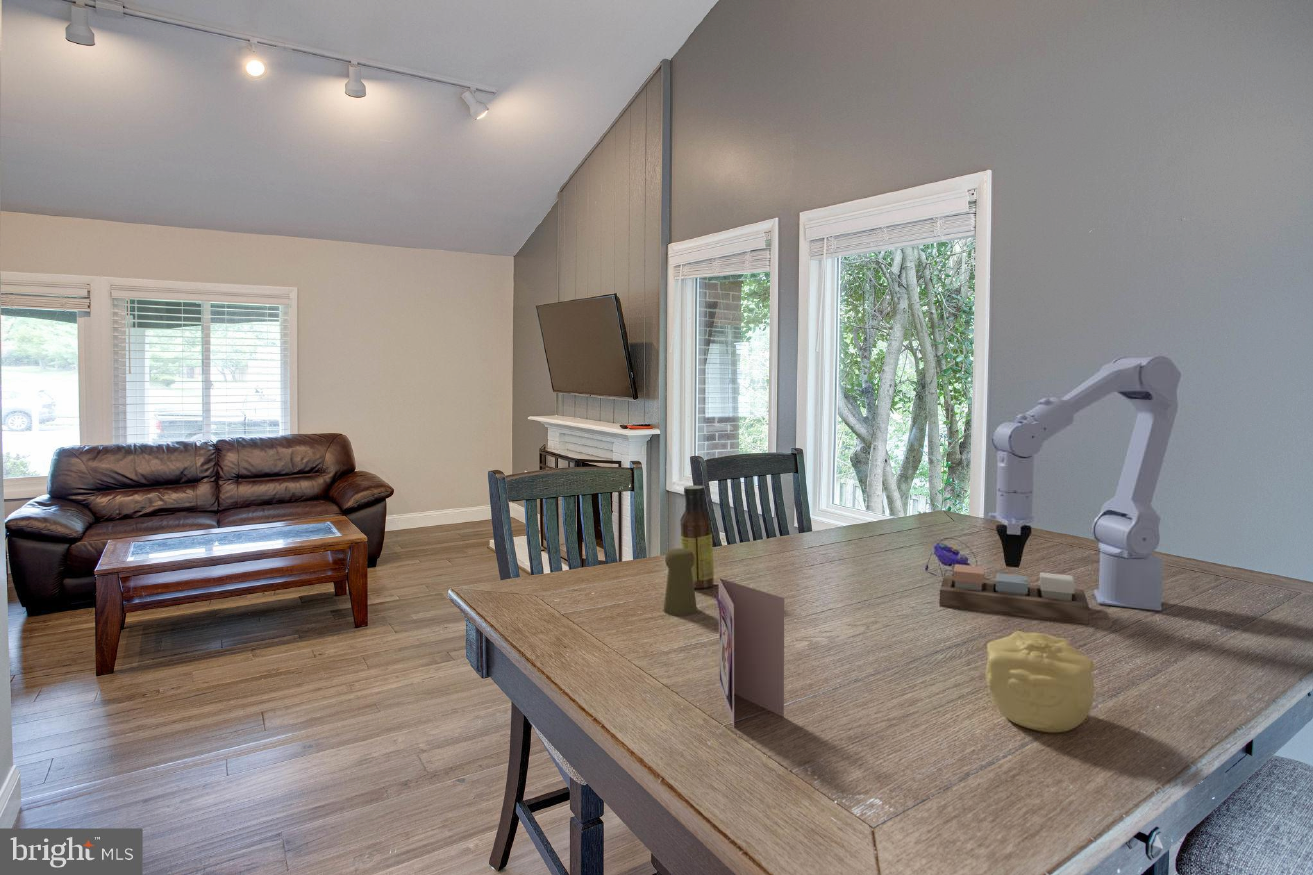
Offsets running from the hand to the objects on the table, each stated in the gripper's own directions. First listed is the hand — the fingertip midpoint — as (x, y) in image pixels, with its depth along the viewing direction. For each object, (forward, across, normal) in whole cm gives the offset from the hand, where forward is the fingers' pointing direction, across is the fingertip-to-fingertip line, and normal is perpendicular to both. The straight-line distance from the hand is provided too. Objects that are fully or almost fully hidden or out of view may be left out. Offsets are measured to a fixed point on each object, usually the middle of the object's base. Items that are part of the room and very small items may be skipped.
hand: (1012, 566), depth 129 cm
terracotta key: (+5, 0, -7) cm, 8 cm away
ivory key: (+5, 0, +7) cm, 8 cm away
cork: (+7, +26, -53) cm, 60 cm away
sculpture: (+7, +45, +3) cm, 46 cm away
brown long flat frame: (+7, 0, 0) cm, 7 cm away
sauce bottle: (+7, +11, -56) cm, 58 cm away
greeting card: (+7, +56, -30) cm, 64 cm away
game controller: (+8, -17, -12) cm, 22 cm away
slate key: (+6, 0, 0) cm, 6 cm away
